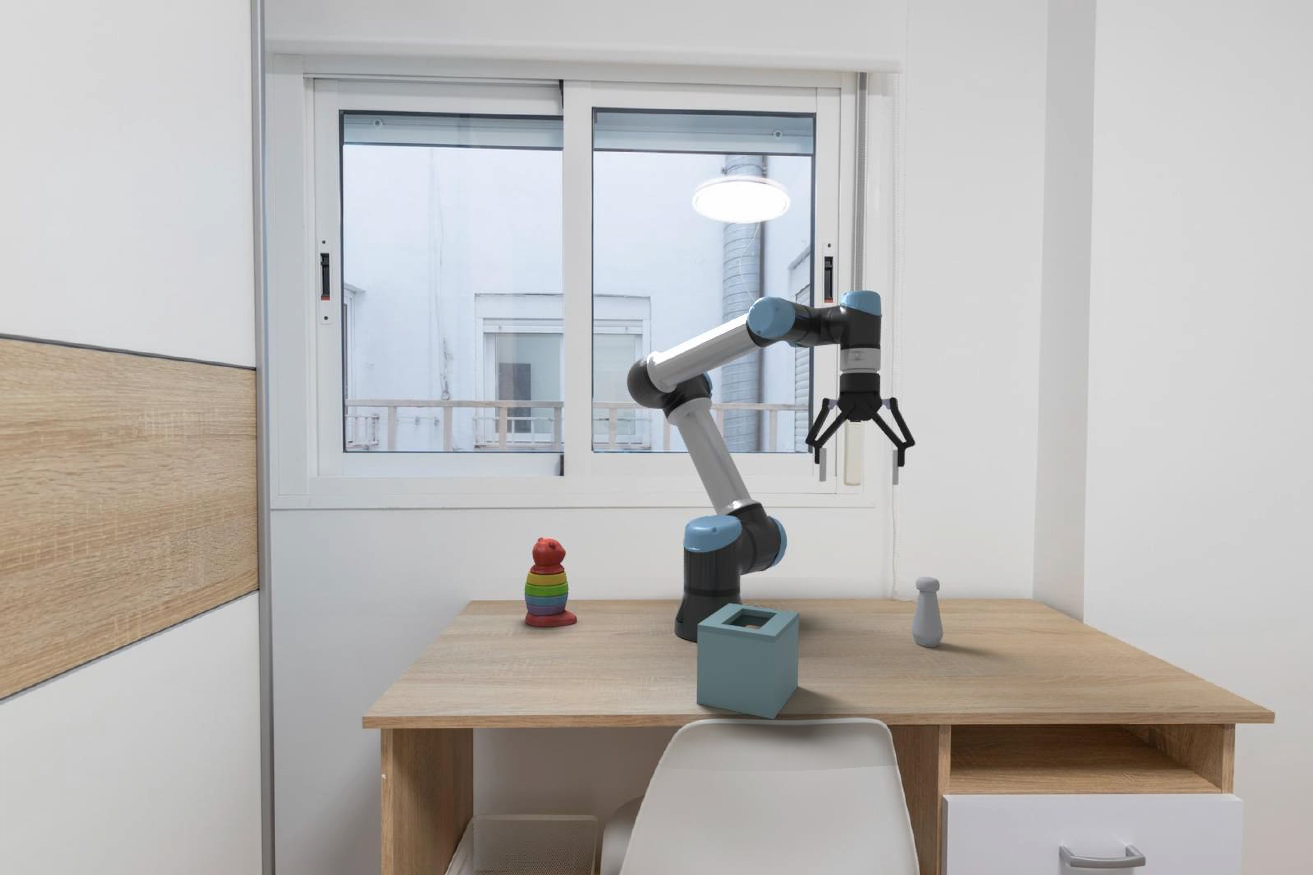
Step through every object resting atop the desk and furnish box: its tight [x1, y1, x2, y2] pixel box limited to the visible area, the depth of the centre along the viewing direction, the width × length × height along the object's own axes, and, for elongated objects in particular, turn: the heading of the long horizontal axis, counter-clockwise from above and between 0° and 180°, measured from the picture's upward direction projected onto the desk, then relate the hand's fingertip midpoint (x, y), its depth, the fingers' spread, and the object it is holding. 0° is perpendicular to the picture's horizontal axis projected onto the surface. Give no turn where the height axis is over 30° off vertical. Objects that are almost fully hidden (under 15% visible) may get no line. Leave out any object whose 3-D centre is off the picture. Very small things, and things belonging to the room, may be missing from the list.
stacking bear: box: [524, 536, 578, 627], centre depth 142 cm, size 11×10×18 cm
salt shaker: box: [910, 576, 944, 648], centre depth 129 cm, size 6×6×13 cm
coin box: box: [696, 603, 800, 720], centre depth 104 cm, size 12×14×12 cm
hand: (858, 483), depth 127 cm, fingers open, 13 cm apart
